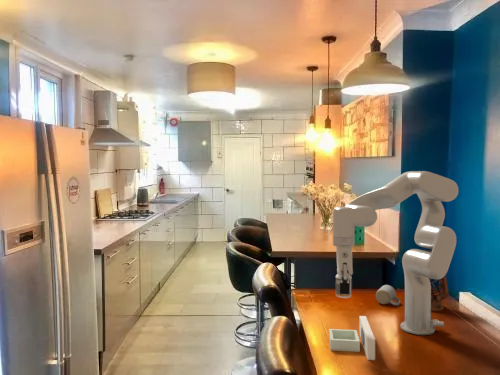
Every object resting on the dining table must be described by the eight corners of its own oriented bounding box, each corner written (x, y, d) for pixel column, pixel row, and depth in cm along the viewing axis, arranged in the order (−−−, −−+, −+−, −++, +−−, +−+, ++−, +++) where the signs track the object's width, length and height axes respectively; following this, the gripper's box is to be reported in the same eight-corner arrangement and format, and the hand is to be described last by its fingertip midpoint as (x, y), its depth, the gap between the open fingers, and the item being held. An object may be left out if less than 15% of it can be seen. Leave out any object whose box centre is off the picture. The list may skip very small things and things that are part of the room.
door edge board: (365, 333, 159) (365, 316, 158) (375, 360, 137) (375, 339, 136) (358, 333, 159) (358, 315, 159) (366, 359, 137) (366, 339, 137)
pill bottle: (340, 292, 152) (340, 266, 152) (354, 295, 149) (354, 268, 148) (332, 296, 148) (332, 269, 147) (347, 299, 144) (347, 271, 144)
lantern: (407, 308, 187) (407, 242, 186) (409, 299, 199) (409, 238, 198) (448, 313, 180) (449, 245, 179) (448, 304, 192) (448, 240, 191)
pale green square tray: (356, 339, 153) (356, 330, 153) (359, 351, 143) (359, 341, 143) (329, 338, 155) (329, 328, 154) (330, 350, 145) (330, 339, 145)
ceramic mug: (374, 303, 194) (374, 287, 194) (380, 298, 201) (380, 283, 200) (397, 308, 188) (397, 291, 188) (402, 303, 195) (402, 287, 194)
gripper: (357, 245, 138) (357, 298, 139) (351, 237, 155) (351, 284, 156) (334, 245, 139) (334, 298, 140) (331, 237, 156) (331, 284, 157)
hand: (343, 290), depth 148 cm, fingers closed on pill bottle, 5 cm apart
